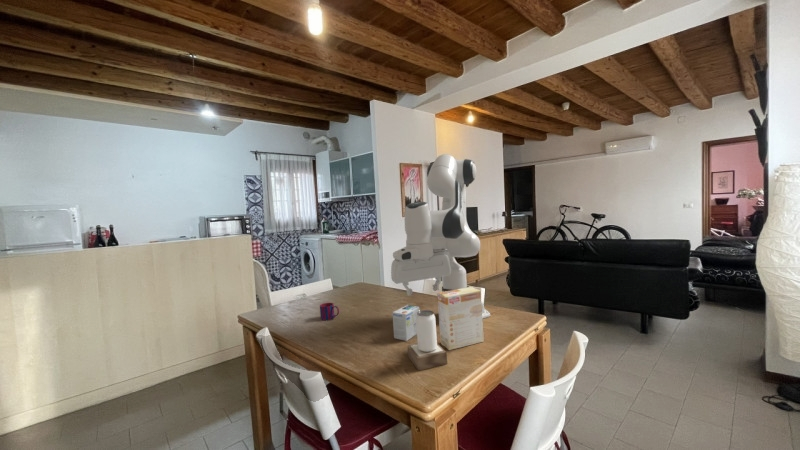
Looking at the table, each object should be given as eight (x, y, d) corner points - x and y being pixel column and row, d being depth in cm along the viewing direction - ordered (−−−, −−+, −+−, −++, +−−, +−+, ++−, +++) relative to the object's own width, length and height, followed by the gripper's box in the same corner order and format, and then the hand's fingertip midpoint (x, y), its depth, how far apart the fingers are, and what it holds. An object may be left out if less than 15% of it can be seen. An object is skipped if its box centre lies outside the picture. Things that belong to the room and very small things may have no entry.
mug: (327, 315, 157) (326, 302, 156) (342, 317, 152) (341, 303, 152) (317, 319, 151) (316, 306, 151) (333, 322, 146) (332, 308, 146)
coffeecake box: (473, 335, 121) (470, 286, 120) (484, 342, 114) (481, 290, 113) (439, 343, 116) (436, 292, 115) (449, 350, 109) (445, 296, 108)
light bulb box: (408, 328, 132) (406, 304, 131) (421, 331, 128) (419, 306, 127) (393, 338, 123) (391, 311, 123) (407, 341, 119) (405, 314, 119)
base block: (434, 351, 110) (433, 339, 109) (447, 363, 100) (446, 351, 100) (408, 356, 107) (407, 344, 106) (418, 370, 97) (417, 357, 97)
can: (436, 353, 99) (434, 316, 98) (416, 352, 100) (414, 316, 100) (438, 344, 105) (435, 309, 105) (419, 343, 107) (417, 309, 106)
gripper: (444, 246, 108) (447, 285, 108) (388, 253, 102) (391, 294, 102) (452, 248, 102) (455, 289, 102) (393, 256, 95) (396, 299, 96)
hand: (423, 292), depth 102 cm, fingers open, 8 cm apart
